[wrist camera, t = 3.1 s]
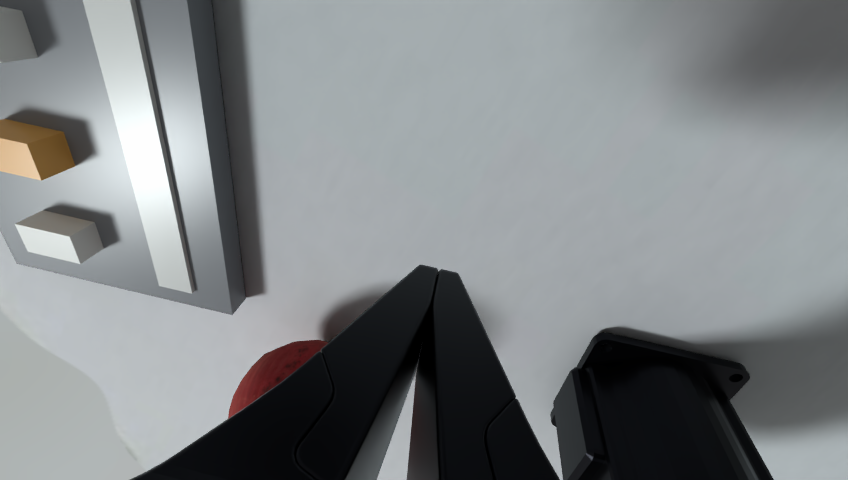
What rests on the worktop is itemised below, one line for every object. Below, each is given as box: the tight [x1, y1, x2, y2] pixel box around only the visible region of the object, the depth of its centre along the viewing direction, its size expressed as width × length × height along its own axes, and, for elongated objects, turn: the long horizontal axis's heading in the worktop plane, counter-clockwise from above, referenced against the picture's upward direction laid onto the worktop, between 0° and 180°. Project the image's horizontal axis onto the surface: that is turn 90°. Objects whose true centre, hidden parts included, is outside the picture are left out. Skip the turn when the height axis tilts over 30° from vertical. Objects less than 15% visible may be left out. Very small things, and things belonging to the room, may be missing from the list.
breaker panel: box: [0, 0, 246, 315], centre depth 14 cm, size 11×18×2 cm, turn 170°
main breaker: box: [0, 119, 75, 181], centre depth 15 cm, size 2×1×1 cm, turn 80°
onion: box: [228, 340, 329, 419], centre depth 18 cm, size 6×6×8 cm
